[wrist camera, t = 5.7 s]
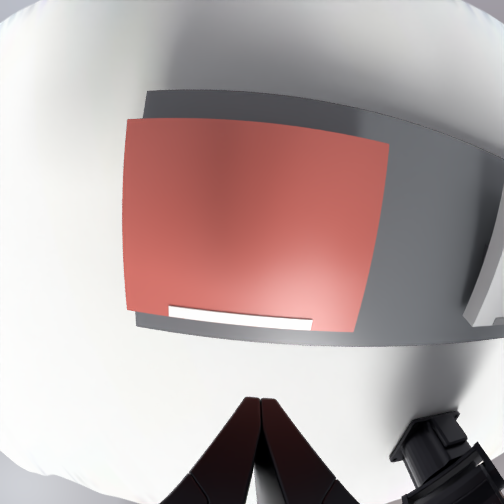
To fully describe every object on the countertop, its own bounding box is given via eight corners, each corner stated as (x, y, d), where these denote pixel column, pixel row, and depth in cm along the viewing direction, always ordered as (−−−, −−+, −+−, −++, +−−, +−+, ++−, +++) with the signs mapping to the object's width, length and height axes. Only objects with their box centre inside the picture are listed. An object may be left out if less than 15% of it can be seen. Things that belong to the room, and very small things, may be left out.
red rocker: (346, 318, 13) (353, 333, 12) (136, 298, 13) (126, 310, 12) (377, 145, 11) (390, 143, 10) (139, 122, 11) (126, 119, 9)
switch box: (501, 316, 18) (532, 337, 14) (158, 299, 18) (130, 333, 14) (525, 185, 16) (563, 190, 11) (169, 109, 16) (141, 86, 11)
